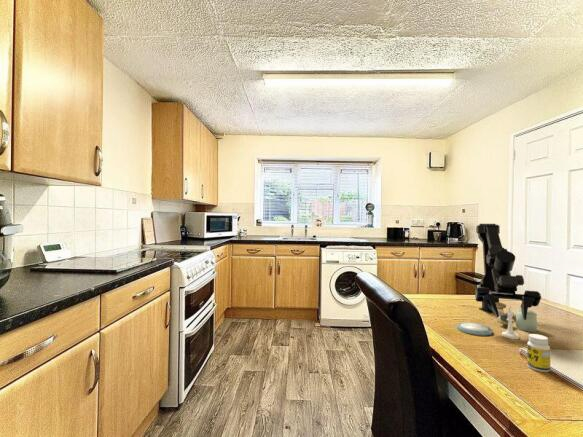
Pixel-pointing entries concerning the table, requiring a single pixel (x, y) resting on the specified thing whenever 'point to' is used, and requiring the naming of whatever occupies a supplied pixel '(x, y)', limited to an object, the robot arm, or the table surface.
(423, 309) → the table surface
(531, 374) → the table surface
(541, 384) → the table surface
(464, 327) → the dish
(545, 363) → the supplement bottle
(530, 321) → the sage cup
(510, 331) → the chess piece
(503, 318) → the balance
